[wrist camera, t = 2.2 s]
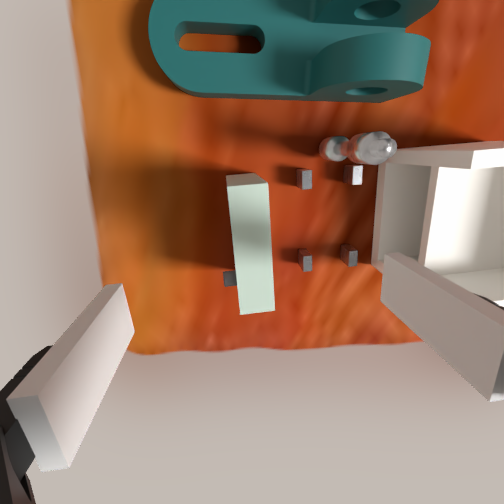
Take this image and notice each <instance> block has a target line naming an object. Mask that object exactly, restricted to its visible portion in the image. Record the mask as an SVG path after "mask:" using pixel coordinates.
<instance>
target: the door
mask: <svg viewBox="0 0 504 504" xmlns="http://www.w3.org/2000/svg"><path fill="white" fill-rule="evenodd" d="M226 182H227V192H228V201H229V211H230V220H231V230H232V239H233V249H234V259H235V268H236V270H234V271H225V272H223V278H224V286H225V287H227V286H236V285H237V287H238V297H239V306H240V315H242V314H250V313H259V312H267V311H275V302H274V284H273V266H272V247H271V229H270V211H269V193H268V183H267V182H266V181H265V180H263V179H262V178H261V177H259V176H258V175H257V174H255V173H248V174H236V175H226Z"/></svg>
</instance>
